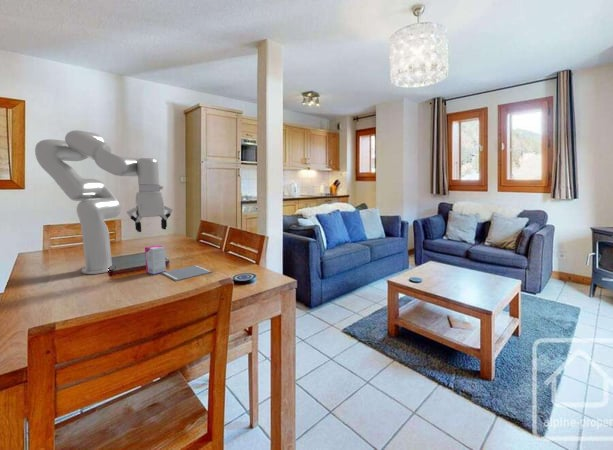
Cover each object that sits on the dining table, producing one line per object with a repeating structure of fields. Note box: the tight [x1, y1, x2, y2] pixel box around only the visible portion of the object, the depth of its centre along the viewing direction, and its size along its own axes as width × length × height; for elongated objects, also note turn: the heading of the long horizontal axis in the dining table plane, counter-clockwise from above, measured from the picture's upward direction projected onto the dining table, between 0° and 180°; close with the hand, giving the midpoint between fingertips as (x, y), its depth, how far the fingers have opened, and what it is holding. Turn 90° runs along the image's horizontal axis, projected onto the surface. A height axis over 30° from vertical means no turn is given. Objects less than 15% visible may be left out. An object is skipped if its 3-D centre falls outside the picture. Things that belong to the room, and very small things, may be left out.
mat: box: [161, 264, 213, 282], centre depth 131 cm, size 14×16×1 cm
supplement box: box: [144, 244, 167, 276], centre depth 130 cm, size 6×6×12 cm
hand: (151, 230), depth 126 cm, fingers open, 9 cm apart
